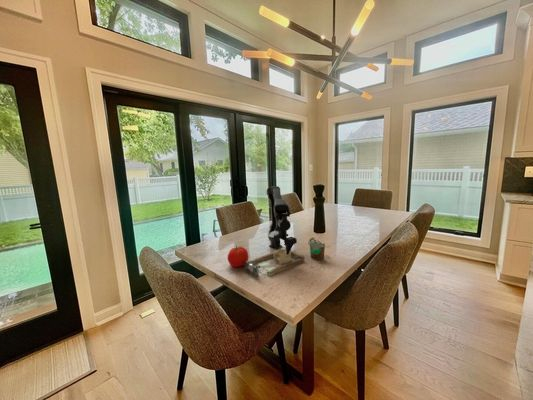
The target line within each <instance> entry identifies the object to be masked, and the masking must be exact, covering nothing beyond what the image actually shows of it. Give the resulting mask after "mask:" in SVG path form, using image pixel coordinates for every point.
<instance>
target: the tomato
mask: <svg viewBox="0 0 533 400" xmlns="http://www.w3.org/2000/svg"><path fill="white" fill-rule="evenodd" d="M247 260H248V261H249V254H248V250H247V249H246V248H245V247H243V246H237V245H236V246H235V247H232V248H231V249H230V250H229V252H228V255H227V263H229V264H230V266H231V267H233V268H239V267H243V266H245V261H247Z"/></svg>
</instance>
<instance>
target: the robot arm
mask: <svg viewBox="0 0 533 400" xmlns="http://www.w3.org/2000/svg"><path fill="white" fill-rule="evenodd" d="M265 191H266V196H267V198H268V200H269V201H270V215H271V216H270V217H271V219H270V220H271V224H270V226H269V230H268V234H267V237H268V241H270V244H269V245H268V247H270V248H273V249H275V251H276V250H279V248H282V247H283V245H284V246H285V248H286V253H287V255H288V254H289V252H290V250H291V251H292V248H293V246H294V245H295V244H297V242H298V241H297V238H296V237H293V236H289V234H288V232H287V231H289V230H290V229H291V224H292V223H291V222H290V221H289V220H288V217H289V218H290V215H291V211H290V207H289V206H288V204H287V203H286V202H287V201H285V200H284V199H283V197H282V195H281V187H280V186H278V185H277V186H275V185H274V186H271V187H267V189H266V190H265ZM281 240H282V241H283V243H284V244H283V245H282V244H281Z"/></svg>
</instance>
